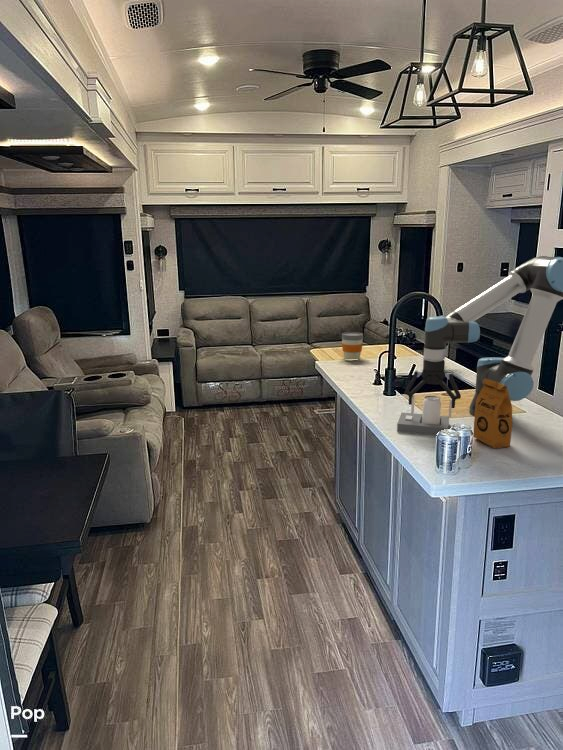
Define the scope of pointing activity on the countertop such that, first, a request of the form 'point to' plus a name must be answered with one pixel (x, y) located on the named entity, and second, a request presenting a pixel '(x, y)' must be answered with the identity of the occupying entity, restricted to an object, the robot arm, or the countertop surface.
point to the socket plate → (420, 424)
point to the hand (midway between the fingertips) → (430, 414)
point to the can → (431, 410)
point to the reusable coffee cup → (352, 345)
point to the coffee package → (493, 415)
